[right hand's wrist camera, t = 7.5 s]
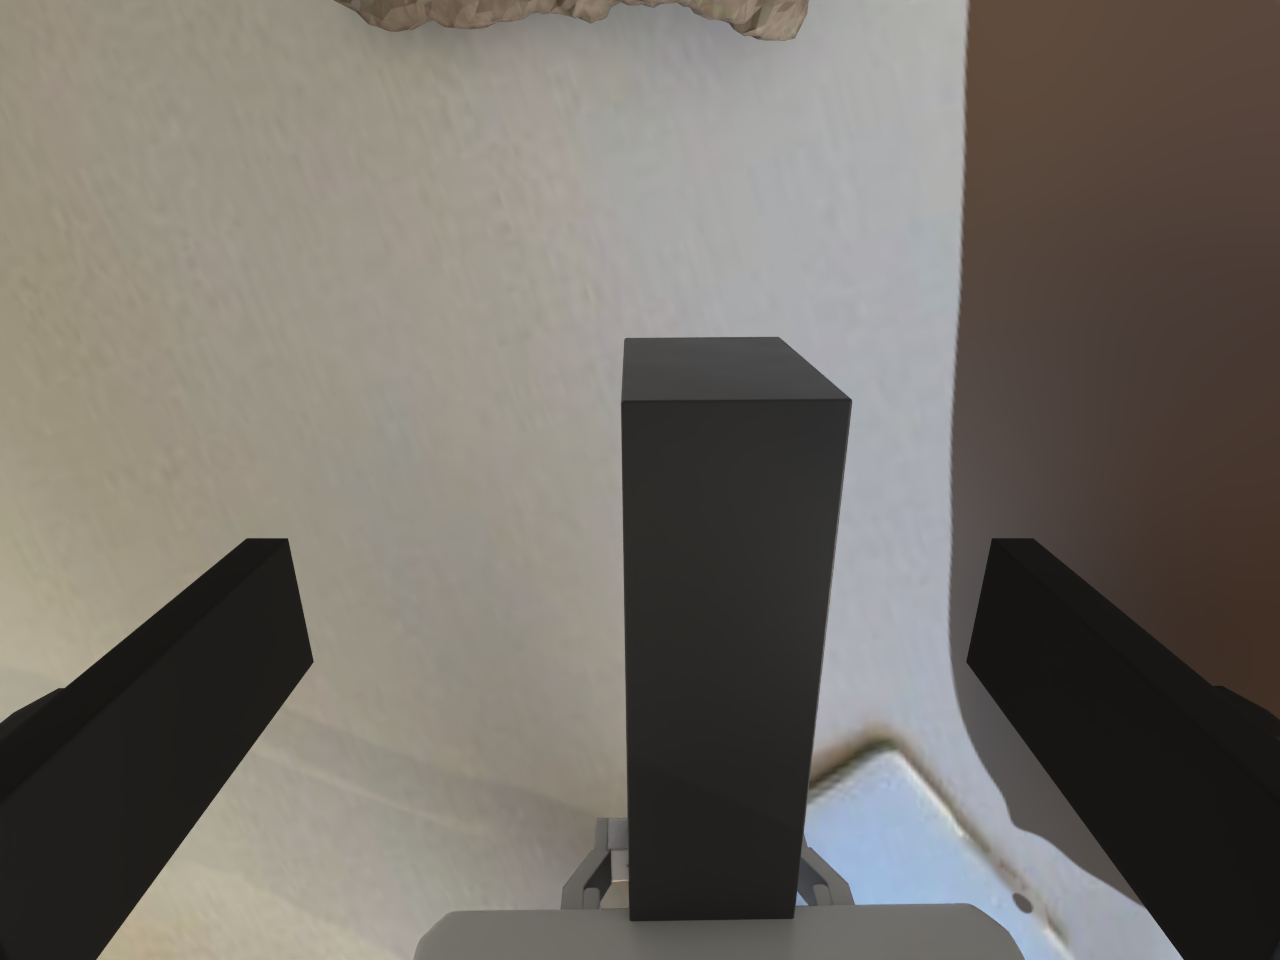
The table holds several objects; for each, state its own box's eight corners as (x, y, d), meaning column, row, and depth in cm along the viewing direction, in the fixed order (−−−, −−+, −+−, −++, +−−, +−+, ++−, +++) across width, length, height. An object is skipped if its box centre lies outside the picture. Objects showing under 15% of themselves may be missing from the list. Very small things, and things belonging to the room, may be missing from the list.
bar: (624, 337, 25) (621, 401, 17) (779, 336, 25) (853, 399, 17) (631, 823, 34) (631, 1023, 25) (745, 822, 34) (783, 1020, 25)
